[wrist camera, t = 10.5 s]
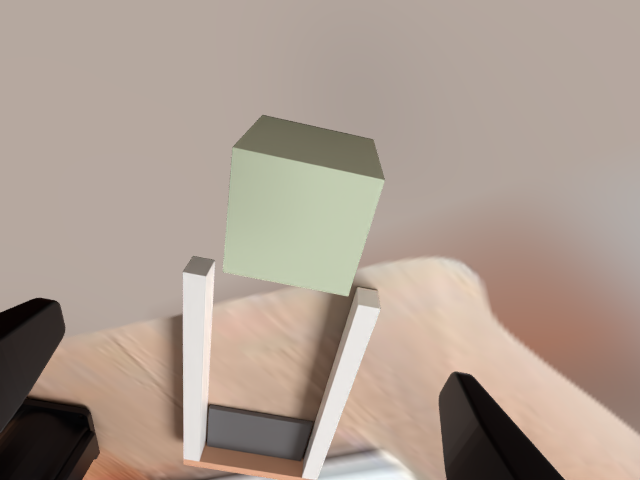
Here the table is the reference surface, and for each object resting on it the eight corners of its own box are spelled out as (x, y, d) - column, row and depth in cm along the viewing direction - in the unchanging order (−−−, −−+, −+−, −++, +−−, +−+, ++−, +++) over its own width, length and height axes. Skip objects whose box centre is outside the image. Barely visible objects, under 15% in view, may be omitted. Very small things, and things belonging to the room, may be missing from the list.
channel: (190, 439, 29) (183, 458, 27) (193, 255, 20) (182, 271, 18) (318, 460, 29) (316, 480, 28) (378, 290, 20) (380, 308, 19)
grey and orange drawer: (190, 445, 29) (183, 464, 28) (191, 401, 26) (183, 420, 25) (316, 465, 30) (315, 485, 28) (330, 424, 27) (330, 444, 25)
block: (251, 214, 18) (222, 272, 14) (262, 114, 16) (232, 147, 11) (346, 234, 18) (347, 296, 14) (373, 139, 16) (384, 180, 12)
